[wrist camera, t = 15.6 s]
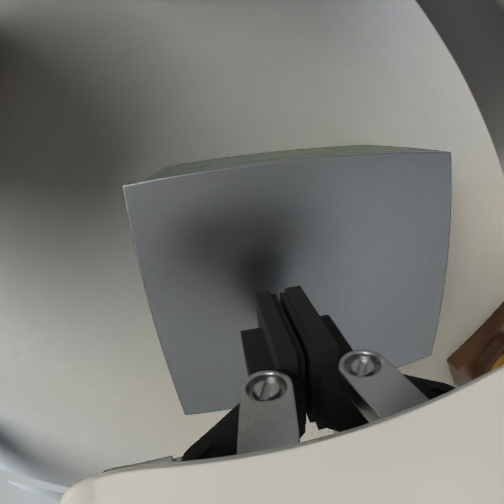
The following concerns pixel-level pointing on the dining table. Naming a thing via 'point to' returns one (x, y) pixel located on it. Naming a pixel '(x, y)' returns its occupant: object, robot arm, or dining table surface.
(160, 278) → the tin lid
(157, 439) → the dining table surface
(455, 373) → the button block
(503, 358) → the button
